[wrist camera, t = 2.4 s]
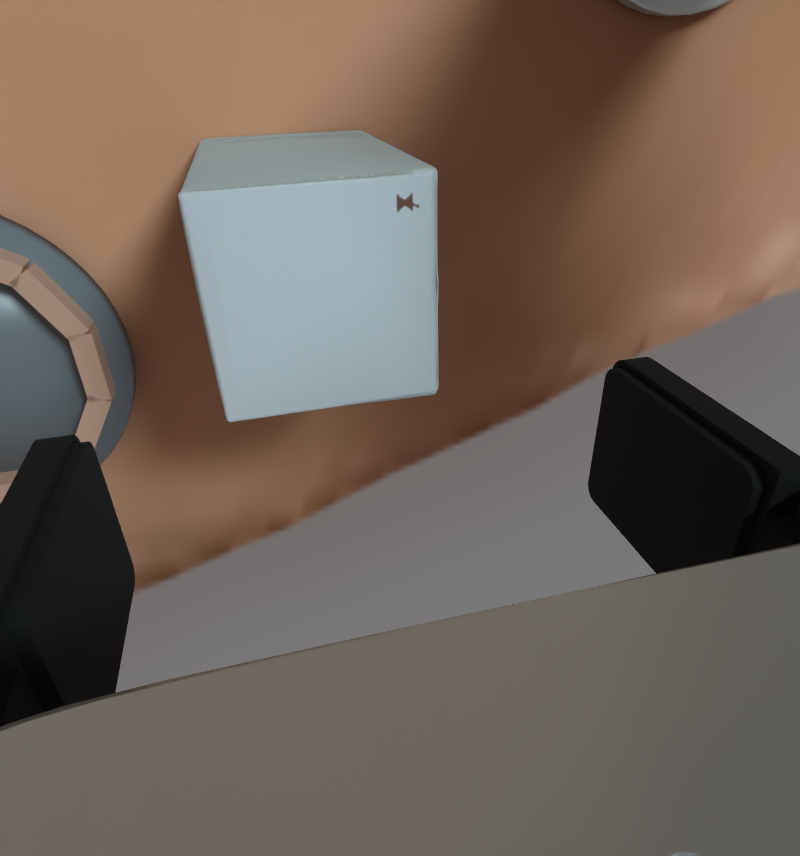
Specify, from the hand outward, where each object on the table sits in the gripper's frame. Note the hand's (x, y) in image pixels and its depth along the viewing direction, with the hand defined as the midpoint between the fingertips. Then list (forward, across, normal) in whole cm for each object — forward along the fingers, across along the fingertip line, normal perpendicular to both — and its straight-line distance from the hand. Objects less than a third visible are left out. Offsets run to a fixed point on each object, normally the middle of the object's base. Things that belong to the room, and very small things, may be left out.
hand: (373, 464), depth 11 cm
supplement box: (+21, 0, 0) cm, 21 cm away
